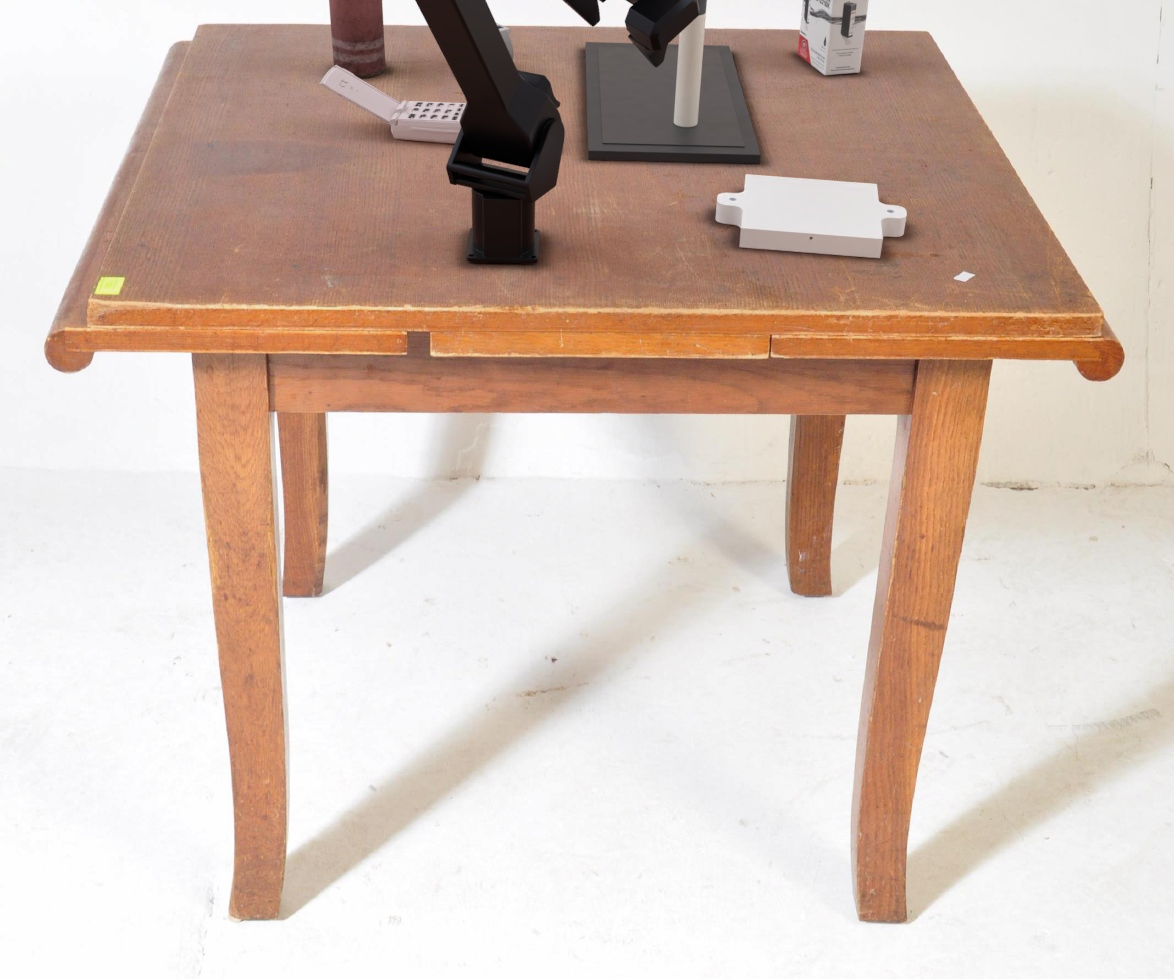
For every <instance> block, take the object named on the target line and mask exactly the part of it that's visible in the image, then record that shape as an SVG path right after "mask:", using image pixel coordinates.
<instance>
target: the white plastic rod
mask: <svg viewBox="0 0 1174 979" xmlns="http://www.w3.org/2000/svg"><path fill="white" fill-rule="evenodd" d="M707 3H708V0H698V4H699V14H700V15H699V16H698V17H697V18H696V19H695V20H693V21H692V22H691V23H690V24H689V25H688V26H687V27H686V28H685V29H684V30H683V31H682V32H680V33H679V34H678V35H679V37H678V44H679V49H678V64H677V79H676V95H675V110H674V124H675V125H677V126H680V127H694V126H696V125H697V123H698V111H699V97H700V84H701V71H702V58H703V45H705V43H704V42H705V29H706V19H707V18H706V17H707V6H708V5H707Z"/></svg>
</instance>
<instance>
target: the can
mask: <svg viewBox="0 0 1174 979" xmlns="http://www.w3.org/2000/svg"><path fill="white" fill-rule="evenodd" d="M328 6H329V19H330V35H331V45H332V46H331V47H332V48H331V49H332V60H333V66H335V65H337V66H339V67H341V68H344V69H346V70H347V71H349V72H351V73H353V74H354V75H355V76H356V77H358V78H360V79H368V78H373V77H377V76H379V75H381V74H382V73H383V72H384V70H385V68H386V67H387V66H386V64H387V63H386V48H385V47H386V46H385V30H384V29H385V28H384V9H383V0H328Z"/></svg>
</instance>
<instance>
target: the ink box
mask: <svg viewBox="0 0 1174 979" xmlns="http://www.w3.org/2000/svg"><path fill="white" fill-rule="evenodd" d="M869 2H870V1H869V0H802V5H801V15H800V26H799V36H798V44H797V55H798V56H799V57H801V58H802V59H803V60H804V61H805V62H807V63H808V64H809V65H811V67H813V68H815V69H816V70H817V71H819V72H820V73H821V74H822V75H823V76H834V75H844V74H858V73H860V71H861V64H862V58H863V56H862V55H863V49H864V40H865V31H866V25H867V24H866V23H867V16H868V15H867V14H868V8H869Z"/></svg>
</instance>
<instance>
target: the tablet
mask: <svg viewBox="0 0 1174 979" xmlns="http://www.w3.org/2000/svg"><path fill="white" fill-rule="evenodd" d="M584 44H585V45H584V50H585V51H584V53H585V54H584V55H585V56H584V57H585V86H586V87H585V88H586V89H585V92H586V94H585V95H586V96H585V97H586V127H587V129H586V130H587V133H586V134H587V160H593V161H631V162H668V163H669V162H671V163H673V162H675V163H677V162H678V163H711V164H712V163H716V164H755V165H757V164H759V165H760V164H761V156H762V155H761V152H760V148H759V145H758V141H757V137H756V133H755V130H754V127H753V123H752V120H751V117H750V113H749V110H748V106H747V102H746V99H745V96H744V95H745V94H744V92H743V89H742V84H741V81H740V78H739V75H738V74H739V73H738V70H737V68H736V64H735V61H734V57H733V53H732V50H731V46H730V45H717V44H716V45H715V44H713V45H712V44H704V45H703V58H702V71H701V84H700V97H699V111H698V123H697V125H696V126H694V127H680V126H677V125H675V124H674V110H675V95H676V79H677V64H678V49H679V43H668V46H667V50H666V54H665V58H664V61H663V63H661V64H660V65H659V66H658V67H657V68H656V67H654V66H653V65H652V64H651V63H650V62H649V61H648V60H647V59H646V57H645V56H644V55H643V54H642V53H641V52H640V50H639V49H638V48H637V47H636V46H635V45H634V44H633V42H599V41H585V42H584Z"/></svg>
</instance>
